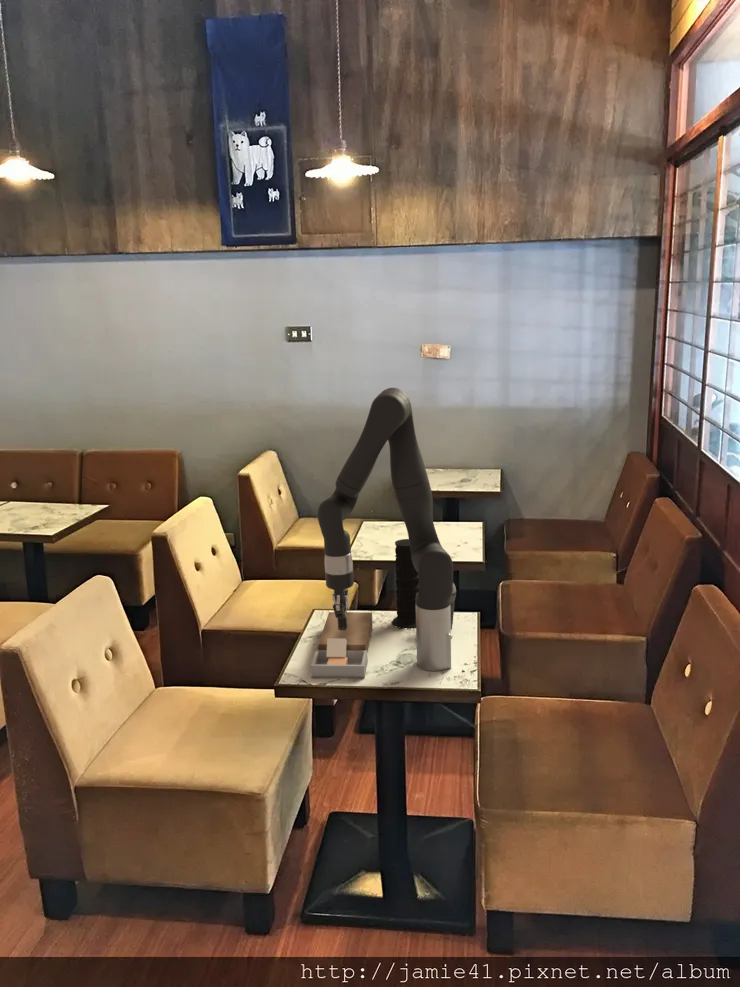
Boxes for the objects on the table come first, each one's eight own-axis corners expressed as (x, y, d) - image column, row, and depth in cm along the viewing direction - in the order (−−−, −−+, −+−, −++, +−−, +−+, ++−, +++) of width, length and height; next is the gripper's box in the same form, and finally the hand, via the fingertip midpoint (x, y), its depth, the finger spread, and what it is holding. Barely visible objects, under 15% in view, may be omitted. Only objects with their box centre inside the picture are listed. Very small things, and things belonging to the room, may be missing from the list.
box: (367, 662, 223) (367, 650, 222) (364, 678, 213) (364, 666, 212) (316, 661, 224) (316, 650, 223) (311, 677, 215) (310, 665, 214)
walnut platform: (372, 628, 245) (372, 612, 244) (365, 661, 223) (365, 644, 222) (329, 627, 246) (329, 612, 245) (318, 661, 224) (317, 644, 223)
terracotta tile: (345, 665, 214) (345, 674, 215) (347, 657, 219) (347, 666, 219) (326, 665, 214) (326, 674, 215) (329, 657, 219) (329, 665, 220)
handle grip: (409, 613, 256) (385, 622, 249) (407, 532, 249) (382, 539, 243) (431, 622, 248) (407, 631, 242) (430, 538, 242) (405, 546, 236)
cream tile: (346, 641, 223) (345, 638, 220) (345, 659, 221) (344, 656, 218) (328, 640, 223) (327, 638, 221) (327, 658, 221) (326, 656, 219)
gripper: (349, 577, 212) (353, 639, 216) (355, 560, 225) (359, 619, 229) (321, 577, 213) (325, 639, 217) (328, 561, 226) (332, 619, 230)
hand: (342, 628), depth 223 cm, fingers closed
